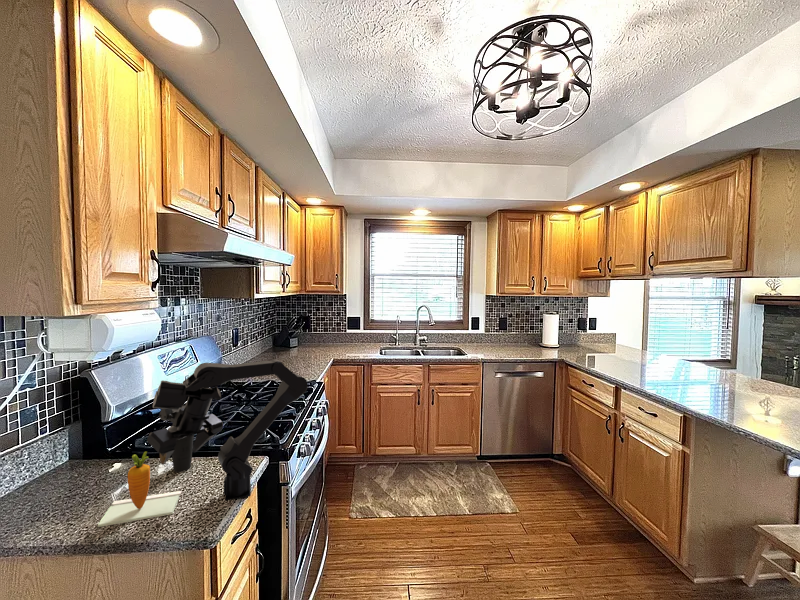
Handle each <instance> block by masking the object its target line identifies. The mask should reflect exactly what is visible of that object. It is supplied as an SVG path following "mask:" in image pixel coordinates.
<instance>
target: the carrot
mask: <svg viewBox="0 0 800 600" xmlns="http://www.w3.org/2000/svg"><path fill="white" fill-rule="evenodd" d="M147 453H148V451H144V452H143V454H142V456H141V459H140V458H139V457H138V455H137V454H132V456H131V458H132V461H133V465H134V466H132V467H131V468H130V467H129V470H128V472H127V484H128V485H127V486H128V493H129V496H130V499H131V500H132V502H133V503H134V505H135V506H136V507H137V508H138V509H141V508H142V507H143V505H144V503H145V500H146V497H147V496H149V495H148V494H149V489H150V484H151V482H150V481H151V466H150V464H145V461H146V460H148V459H149V456H147ZM146 501H147V500H146Z"/></svg>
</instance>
